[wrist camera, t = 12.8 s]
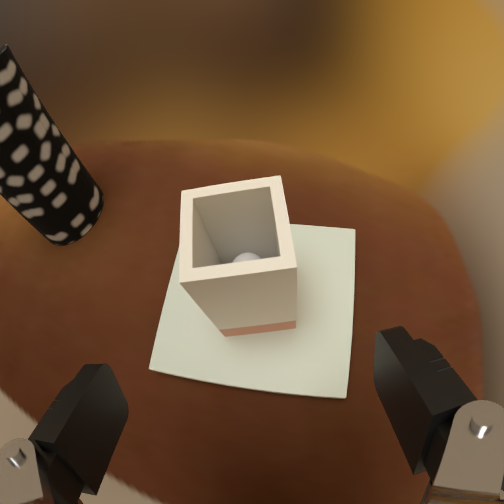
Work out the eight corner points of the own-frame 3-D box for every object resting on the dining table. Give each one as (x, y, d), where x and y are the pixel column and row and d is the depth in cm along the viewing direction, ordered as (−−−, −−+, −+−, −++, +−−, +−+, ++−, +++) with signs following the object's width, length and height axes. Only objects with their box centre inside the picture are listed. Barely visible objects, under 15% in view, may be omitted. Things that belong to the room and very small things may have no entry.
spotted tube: (61, 259, 29) (-71, 127, 12) (36, 220, 33) (-65, 105, 15) (116, 204, 32) (14, 45, 14) (84, 173, 35) (1, 43, 17)
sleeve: (224, 336, 22) (179, 282, 14) (220, 272, 25) (181, 191, 16) (295, 328, 22) (297, 267, 13) (286, 264, 25) (280, 175, 16)
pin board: (156, 371, 23) (107, 352, 17) (192, 226, 29) (165, 171, 22) (342, 398, 21) (365, 392, 14) (352, 238, 26) (367, 181, 20)
